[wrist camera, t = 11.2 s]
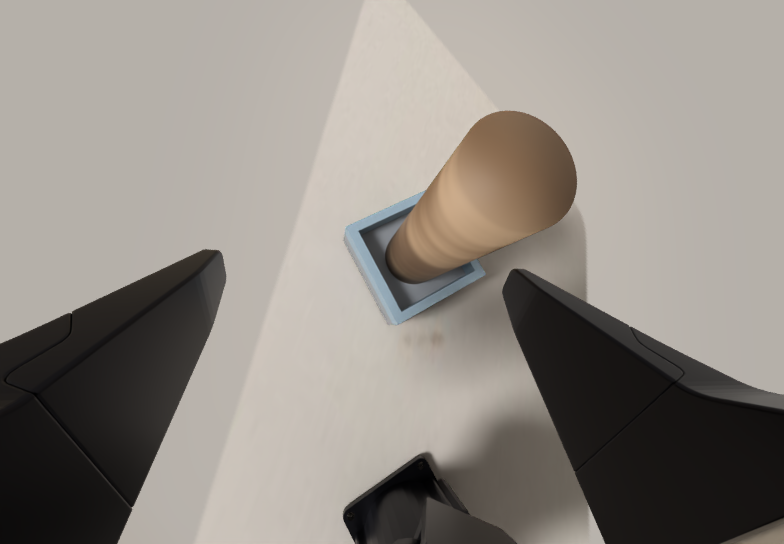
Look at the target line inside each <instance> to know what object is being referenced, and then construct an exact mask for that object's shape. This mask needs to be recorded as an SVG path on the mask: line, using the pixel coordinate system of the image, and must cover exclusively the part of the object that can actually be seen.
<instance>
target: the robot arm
mask: <svg viewBox="0 0 784 544" xmlns="http://www.w3.org/2000/svg"><path fill="white" fill-rule="evenodd" d="M225 283H226V272H225V267H224V261H223V256H222V253H221V252H220V251H219V250H207V249H205V250H202V251H200V252H198V253H196V254H193V255H191V256H189V257H187V258H185V259H183V260H181V261H178V262H176V263H174V264H172V265H170V266H168V267H166V268H163V269H161V270H160V271H157V272H155V273H153V274H151V275H148V276H146V277H144V278H142V279H140V280H138V281H136V282H134V283H131V284H130V285H127V286H125V287H123V288H121V289H119V290H117V291H114V292H112V293H110V294H108V295H106V296H104V297H102V298H99V299H97V300H95V301H93V302H91V303H89V304H87V305H85V306H83V307H80V308H78V309H76V310H74V311H72V314H71V313H68V314H65V315H63V316H61V317H59V318H57V319H55V320H53V321H51V322H48V323H46V324H44V325H42V326H39V327H37V328H35V329H33V330H31V331H28V332H26V333H24V334H22V335H20V336H17V337H15V338H13V339H10V340H8V341H6V342H3V343H1V344H0V544H117V543H118V541H119V539H120V536H121V534H122V531H123V530H124V527H125V525H126V523H127V521H128V518H129V516H130V514H131V511H132V508H131V507H133V506H134V504H135V502H136V500H137V497H138V495H139V493H140V491H141V488H142V486H143V484H144V481H145V479H146V477H147V475H148V472H149V470H150V468H151V466H152V463H153V461H154V459H155V457H156V454H157V452H158V450H159V448H160V445H161V443H162V441H163V438H164V436H165V434H166V432H167V429H168V427H169V425H170V423H171V420H172V418H173V416H174V413H175V411H176V409H177V407H178V405H179V402H180V400H181V398H182V395H183V393H184V391H185V389H186V386H187V384H188V382H189V379H190V377H191V375H192V373H193V371H194V368H195V366H196V364H197V361H198V359H199V357H200V355H201V352H202V350H203V348H204V346H205V343H206V341H207V339H208V337H209V334H210V332H211V329H212V326H213V324H214V321H215V317H216V314H217V310H218V307H219V304H220V300H221V297H222V293H223V289H224V286H225ZM502 294H503V298H504V301H505V304H506V307H507V311H508V314H509V317H510V320H511V324H512V327H513V330H514V333H515V335H516V338H517V340H518V342H519V345H520V347H521V349H522V352H523V354H524V356H525V359H526V361H527V363H528V365H529V368H530V370H531V372H532V375H533V377H534V379H535V382H536V384H537V386H538V389H539V391H540V393H541V395H542V398H543V400H544V402H545V405H546V407H547V409H548V412H549V414H550V416H551V419H552V421H553V423H554V426H555V428H556V430H557V432H558V435H559V437H560V439H561V442H562V444H563V446H564V449H565V451H566V453H567V456H568V458H569V460H570V463H571V465H572V467H573V469H574V471H575V475H576V477H577V479H578V481H579V484H580V486H581V488H582V491H583V493H584V495H585V498H586V500H587V502H588V505H589V507H590V509H591V512H592V514H593V516H594V518H595V521H596V523H597V525H598V528H599V530H600V532H601V535H602V537H603V539H604V542H605V544H784V395H781V394H776V393H771V392H767V391H764V390H760V389H757V388H754V387H752V386H749V385H746V384H744V383H742V382H740V381H737V380H735V379H733V378H731V377H729V376H727V375H725V374H723V373H721V372H719V371H717V370H715V369H713V368H711V367H709V366H707V365H705V364H703V363H701V362H699V361H697V360H695V359H692V358H691V357H688V356H686V355H684V354H683V353H680V352H679V351H677V350H675V349H673V348H671V347H669V346H667V345H665V344H663V343H661V342H659V341H657V340H655V339H653V338H651V337H650V336H648V335H646V334H644V333H642V332H640V331H638V330H636V329H635V328H633V327H629V325H627V324H625V323H623V322H621V321H620V320H618V319H616V318H614V317H612V316H610V315H608V314H607V313H605V312H603V311H601V310H599V309H597V308H595V307H594V306H592V305H590V304H588V303H586V302H585V301H583V300H581V299H579V298H577V297H575V296H573V295H572V294H570V293H568V292H566V291H564V290H562V289H560V288H559V287H557V286H555V285H553V284H551V283H549V282H548V281H546V280H544V279H542V278H540V277H538V276H536V275H535V274H533V273H531V272H529V271H527V270H525V269H513V270H511V272H510V273H509V276H508V278H507V280H506V282H505V284H504V287H503V290H502ZM419 462H423V465H422V466H421V467H418V463H419ZM350 512H353V513H354V515H353V516H352V517H348V516H347V515H348V513H350ZM343 519H344V522H345V524H346V526H347V528H348V530H349V532H350V534H351V536H352V538H353V540H354V542H355V544H517V543H516V542H515V541H514V540H513V539H512V538H511V537H510V536H509V535H507V534H506V533H505V532H504V531H503V530H502V529H500V528H498V527H496V526H494V525H492V524H489V523H487V522H485V521H482V520H480V519H478V518H475V517H473V516H471V515H470V514H469V513H468V511H467V509H466V508H465V507H464V505H463V504H462V503H461V501H460V500H459V499H458V497H457V496H456V494H455V493H454V492H453V490H452V489H451V488H450V486H449V485H448V484H447V482H446V481H445V479H441V478H440V479H439V480H436V478H435V476H434V474H433V472H432V470H431V468H430V466H429V464H428V462H427V461H426V459H425V458H424V457H423V456H417V457H415V458H414V459H412V460H411V461H410V462H408V463H407V464H405V465H404V466H403V467H401V468H400V469H398V470H397V471H396V472H394V473H393V474H391V475H390V476H388V477H387V478H386V479H384V480H383V481H381V482H380V483H379V484H377V485H376V486H374V487H373V488H372V489H370V490H369V491H367V492H366V493H365V494H363V495H362V496H360V497H359V498H357V499H356V500H355V501H353V502H352V503H350V504H349V505H348V506H346V507H345V509H344V511H343Z"/></svg>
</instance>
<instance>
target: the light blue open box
mask: <svg viewBox="0 0 784 544" xmlns="http://www.w3.org/2000/svg"><path fill="white" fill-rule="evenodd" d="M425 191H426V190H425ZM425 191H423V192H421V193H419V194H416V195H414V196H412V197H410V198H408V199H405V200H403V201H401V202H399V203H397V204H394V205H392V206H390V207H388V208H386V209H383V210H381V211H379V212H377V213H375V214H372V215H370V216H368V217H366V218H364V219H361V220H359V221H357V222H355V223H353V224H351V225H348V226H346V228H345V234H344V243H345V245H346V246H347V248H348V250H349V252H350V254H351V256H352V258H353V260H354V262H355V263H356V265H357V267H358V269H359V271H360V273H361V275H362V277H363V279H364V280H365V282H366V284H367V286H368V288H369V290H370V292H371V294H372V296H373V297H374V299H375V301H376V303H377V305H378V307H379V309H380V311H381V313H382V314H383V316H384V318H385V320H386V322H387V324H388V325H398V324H400V323H402V322H404V321H405V320H407V319H409V318H411V317H412V316H414V315H416V314H418V313H419V312H421V311H423V310H425V309H426V308H428V307H430V306H432V305H433V304H435V303H437V302H439V301H440V300H442V299H444V298H446V297H447V296H449V295H451V294H453V293H454V292H456V291H458V290H460V289H461V288H463V287H465V286H467V285H469V284H470V283H472V282H474V281H476V280H477V279H479V278H481V277H483V276H484V275H486V274H485V272H484V270H483V268H482V266H481V265H480V263H479V261H478V259H475V260H473V261H471V262H469V263H466V264H464V265H462V266H459V267H457V268H455V269H453V270H450V271H448V272H446V273H443V274H441V275H439V276H437V277H434V278H432V279H430V280H428V281H425V282H423V283H420V284H407V283H404V282H401V281H399V280H398V279H396V278H395V277H394V276H393V275H392V274H391V272H390V271H389V269H388V267H387V264H386V260H385V251H386V247H387V245H388V243H389V241H390V240H391V238H392V237H393V236H394V234H395V233H396V231H397V230H398V229H399V227H400V226H401V225H402V223H403V222H404V220H405V219H406V218H407V216H408V215H409V213H410V212H411V211H412V209H413V208H414V207H415V205H416V204H417V202H418V201H419V200H420V198H421V197H422V196H423V194H424V193H425Z"/></svg>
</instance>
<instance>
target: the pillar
mask: <svg viewBox="0 0 784 544" xmlns="http://www.w3.org/2000/svg"><path fill="white" fill-rule="evenodd" d="M576 188H577V176H576V169H575V165H574V162H573V159H572V156H571V154H570V152H569V150H568V148H567V146H566V144H565V143H564V142H563V140H562V139H561V137H560V136H559V135H558V134H557V133H556V132H555V131H554V130H553V129H552V128H551V127H549V126H548V125H547V124H546V123H544V122H543V121H541V120H539V119H538V118H536V117H534V116H531V115H529V114H526V113H522V112H517V111H499V112H495V113H492V114H490V115H487V116H485V117H484V118H482V119H480V120H479V121H478V122H477V123H476V124H475V125H474V126H473V127H472V128H471V129H470V131H469V132H468V133H467V135H466V136H465V137H464V139H463V140H462V142H461V143H460V144H459V146H458V147H457V149H456V150H455V151H454V153H453V154H452V155H451V157H450V158H449V160H448V161H447V162H446V164H445V165H444V166H443V168H442V169H441V171H440V172H439V173H438V175H437V176H436V178H435V179H434V180H433V182H432V183H431V184H430V186H429V187H428V189H427V190H426V191H425V193H424V194H423V196H422V197H421V198H420V200H419V201H418V202H417V204H416V205H415V207H414V208H413V209H412V211H411V212H410V213H409V215H408V216H407V218H406V219H405V220H404V222H403V223H402V225H401V226H400V227H399V229H398V230H397V231H396V233H395V234H394V236H393V237H392V238H391V240H390V241H389V243H388V245H387V247H386V251H385V260H386V264H387V267H388V269H389V271H390V272H391V274H392V275H393V276H394V277H395V278H396V279H398V280H399V281H401V282H404V283H407V284H420V283H423V282H425V281H428V280H430V279H432V278H434V277H437V276H439V275H441V274H443V273H446V272H448V271H450V270H453V269H455V268H457V267H459V266H462V265H464V264H466V263H469V262H471V261H473V260H475V259H478V258H480V257H482V256H484V255H487V254H489V253H491V252H494V251H496V250H498V249H500V248H503V247H505V246H507V245H509V244H512V243H514V242H516V241H519V240H521V239H523V238H525V237H528V236H530V235H532V234H535V233H537V232H539V231H541V230H544V229H546V228H548V227H550V226H552V225H554V224H556V223H557V222H558V221H560V220H561V219H562V218H563V217H564V216H565V215H566V214H567V212H568V211H569V209H570V208H571V205H572V203H573V201H574V198H575V194H576Z"/></svg>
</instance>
